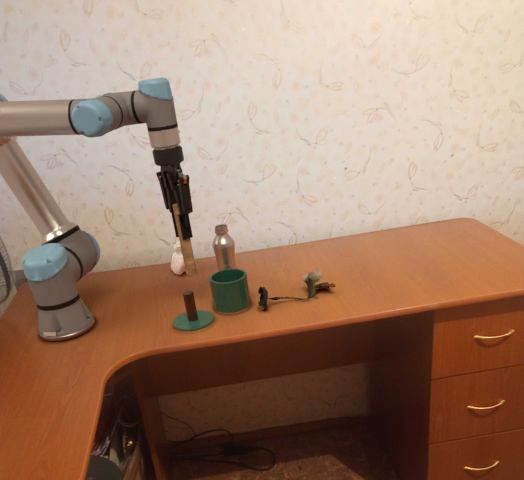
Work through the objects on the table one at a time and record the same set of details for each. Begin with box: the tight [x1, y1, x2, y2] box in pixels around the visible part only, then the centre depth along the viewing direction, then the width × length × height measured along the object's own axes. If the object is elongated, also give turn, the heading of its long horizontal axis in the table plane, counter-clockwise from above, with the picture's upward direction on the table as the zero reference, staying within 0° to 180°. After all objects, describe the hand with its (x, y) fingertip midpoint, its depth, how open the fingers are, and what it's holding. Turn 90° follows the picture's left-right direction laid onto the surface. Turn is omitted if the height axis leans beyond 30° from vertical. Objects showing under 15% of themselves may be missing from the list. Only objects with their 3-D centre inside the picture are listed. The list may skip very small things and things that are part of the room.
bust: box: [170, 240, 186, 276], centre depth 179 cm, size 12×8×11 cm
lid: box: [172, 290, 215, 332], centre depth 144 cm, size 11×11×9 cm
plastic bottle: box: [212, 223, 238, 271], centre depth 158 cm, size 6×7×20 cm
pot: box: [208, 268, 251, 314], centre depth 150 cm, size 10×10×10 cm
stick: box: [172, 203, 198, 277], centre depth 146 cm, size 3×3×20 cm
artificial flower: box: [257, 268, 336, 311], centre depth 150 cm, size 9×22×10 cm, turn 107°
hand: (184, 236), depth 145 cm, fingers closed on stick, 3 cm apart
